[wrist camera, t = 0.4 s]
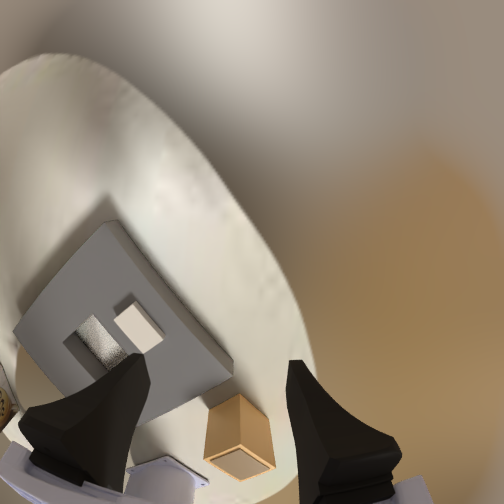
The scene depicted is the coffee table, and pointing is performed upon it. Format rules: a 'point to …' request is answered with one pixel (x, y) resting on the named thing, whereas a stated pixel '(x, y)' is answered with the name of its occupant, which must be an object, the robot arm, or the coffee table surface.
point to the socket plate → (121, 325)
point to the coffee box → (6, 401)
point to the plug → (239, 439)
